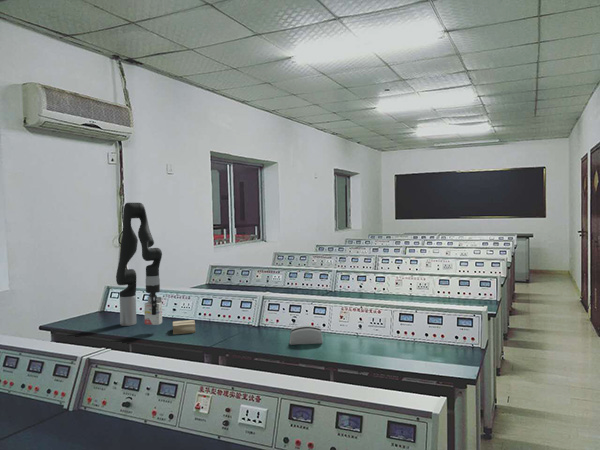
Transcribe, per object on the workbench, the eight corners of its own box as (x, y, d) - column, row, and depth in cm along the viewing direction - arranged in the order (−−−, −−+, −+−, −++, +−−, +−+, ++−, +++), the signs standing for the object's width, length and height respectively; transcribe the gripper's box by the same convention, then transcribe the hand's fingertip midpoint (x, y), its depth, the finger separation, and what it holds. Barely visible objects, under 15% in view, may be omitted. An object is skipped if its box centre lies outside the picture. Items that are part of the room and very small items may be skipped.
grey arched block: (321, 340, 247) (322, 323, 243) (322, 346, 242) (323, 329, 239) (289, 341, 246) (288, 324, 242) (289, 347, 241) (289, 330, 238)
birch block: (173, 330, 278) (172, 321, 278) (194, 328, 281) (194, 319, 281) (173, 334, 267) (172, 325, 266) (195, 333, 270) (195, 324, 269)
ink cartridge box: (144, 324, 269) (143, 298, 268) (147, 322, 274) (147, 296, 273) (159, 324, 268) (158, 298, 267) (162, 322, 273) (162, 296, 272)
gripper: (144, 282, 275) (145, 311, 276) (146, 286, 262) (147, 316, 262) (158, 281, 278) (158, 310, 279) (161, 285, 265) (161, 315, 265)
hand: (153, 313), depth 270 cm, fingers closed on ink cartridge box, 6 cm apart
